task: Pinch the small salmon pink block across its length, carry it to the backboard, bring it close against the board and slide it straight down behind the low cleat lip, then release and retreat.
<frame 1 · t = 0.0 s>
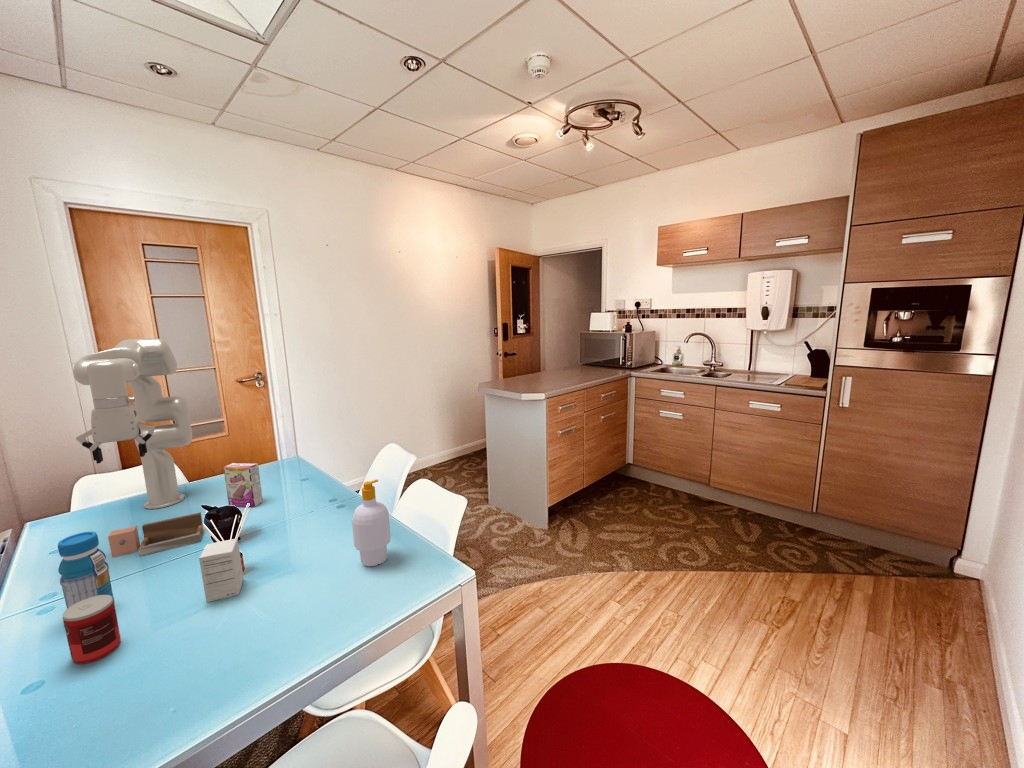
hand: (121, 458, 124), 31 cm above the table, fingers open, 9 cm apart
beverage bottle: (92, 612, 104), on the table
canned food: (97, 651, 91), on the table
soap bottle: (374, 560, 123), on the table
salmon pink block: (126, 551, 131), on the table
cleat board: (173, 542, 136), on the table
candy bar box: (246, 505, 163), on the table
supplement box: (225, 591, 111), on the table
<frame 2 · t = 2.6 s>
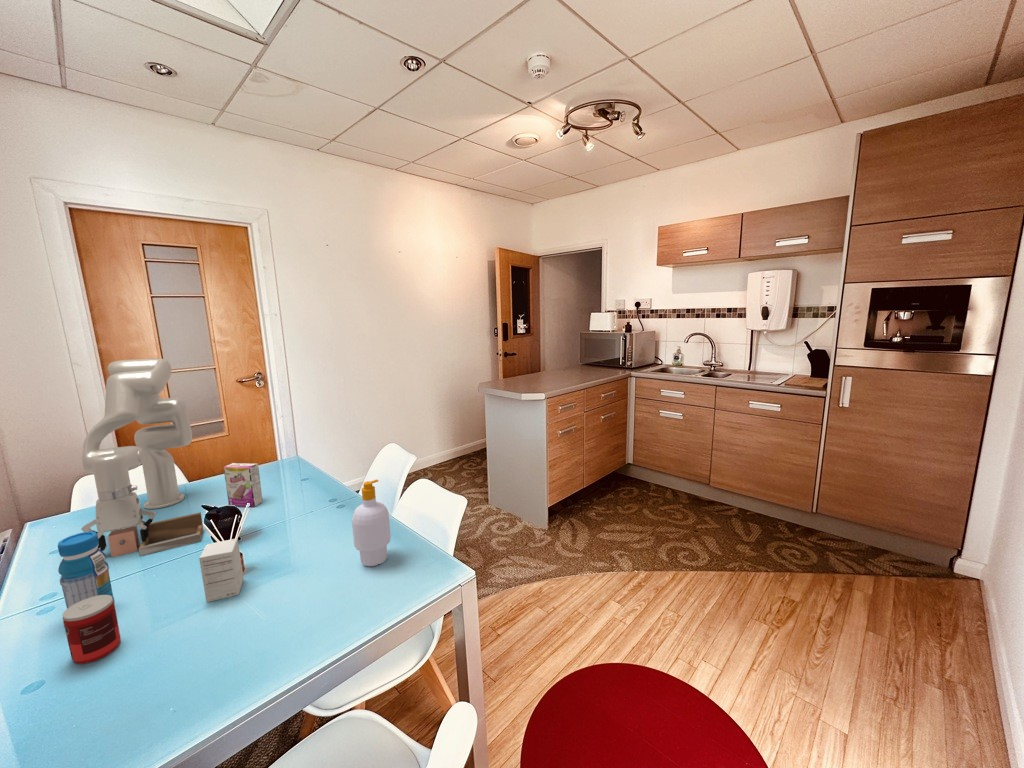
hand: (124, 544, 131), 3 cm above the table, fingers open, 9 cm apart
nothing on the table moved.
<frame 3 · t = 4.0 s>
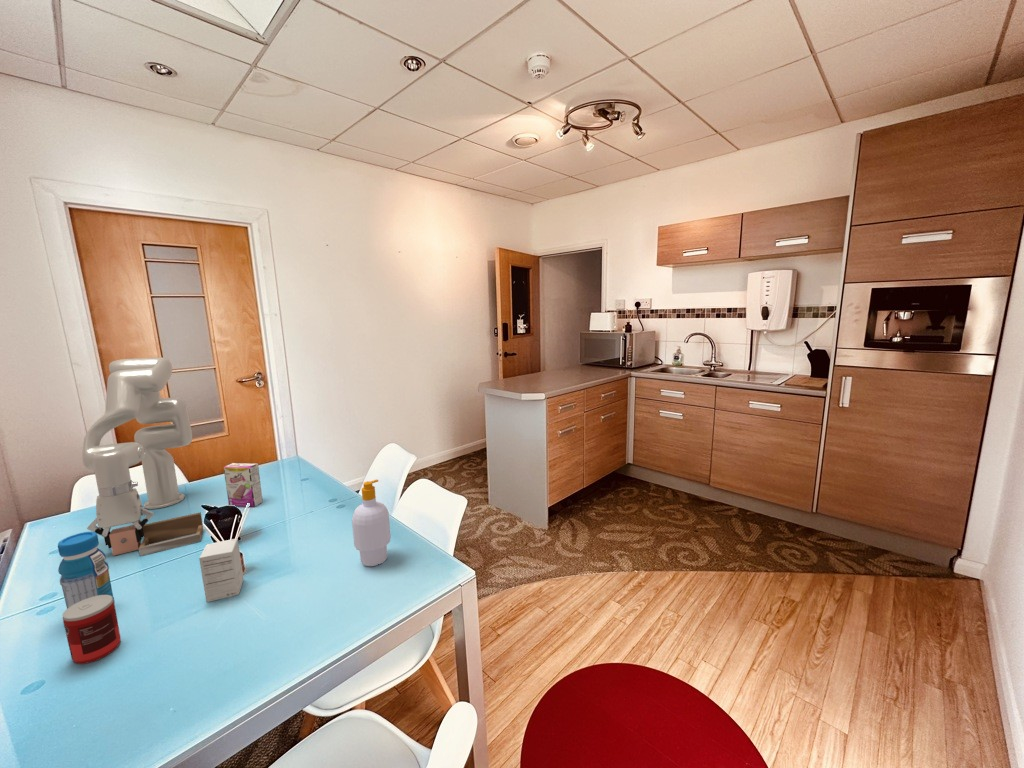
hand: (125, 542, 131), 3 cm above the table, fingers closed on salmon pink block, 6 cm apart
salmon pink block: (127, 549, 132), on the table, touching gripper
everything else where it was.
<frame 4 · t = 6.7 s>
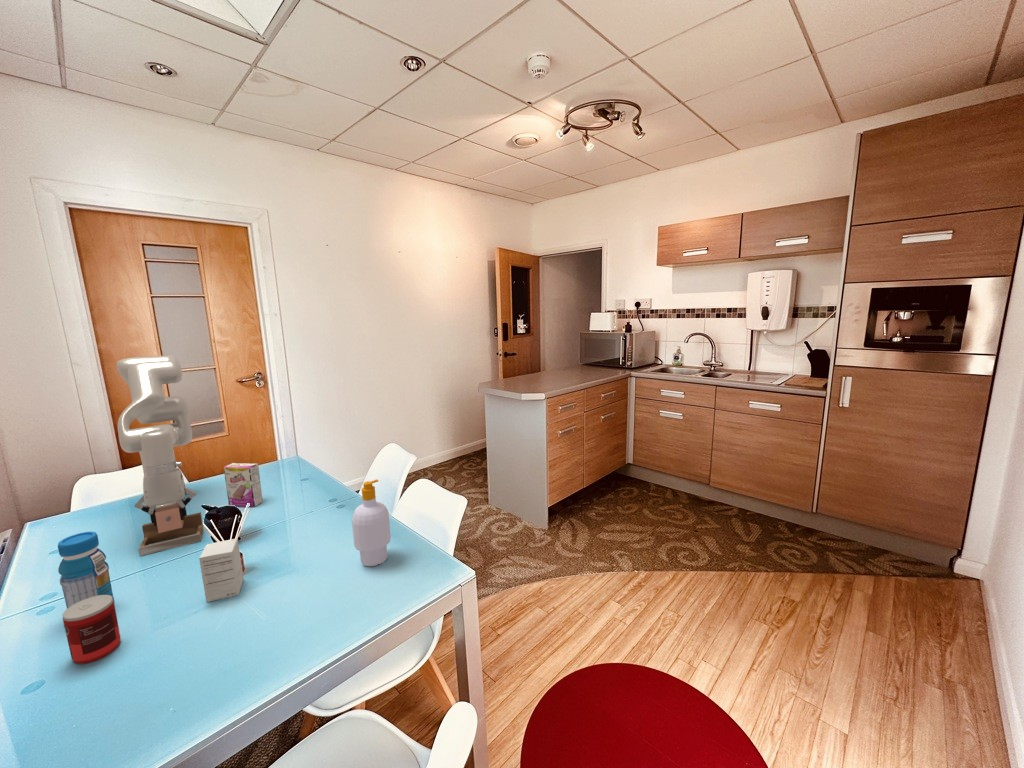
hand: (169, 520, 135), 8 cm above the table, fingers closed on salmon pink block, 6 cm apart
salmon pink block: (171, 527, 135), point 5 cm above the table, touching gripper
everything else where it was.
when the fingers open (3 cm above the table, at t = 9.1 s): salmon pink block stays where it is, resting in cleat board.
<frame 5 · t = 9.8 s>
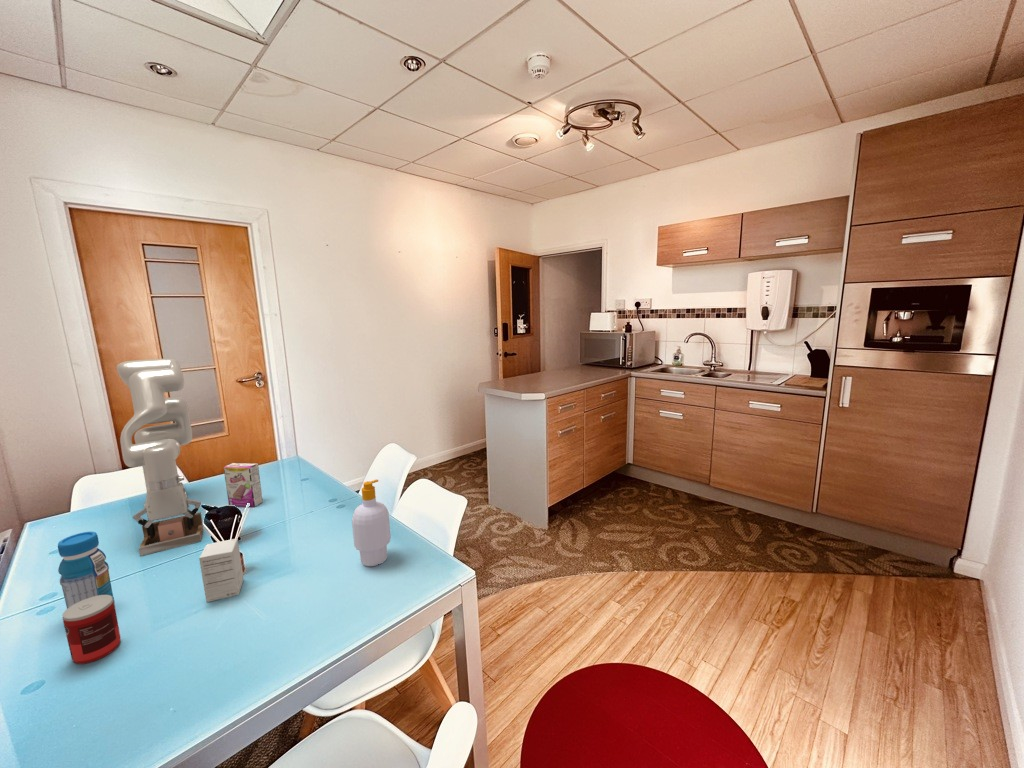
hand: (172, 532, 136), 3 cm above the table, fingers open, 9 cm apart
salmon pink block: (173, 541, 137), resting in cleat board
everything else where it was.
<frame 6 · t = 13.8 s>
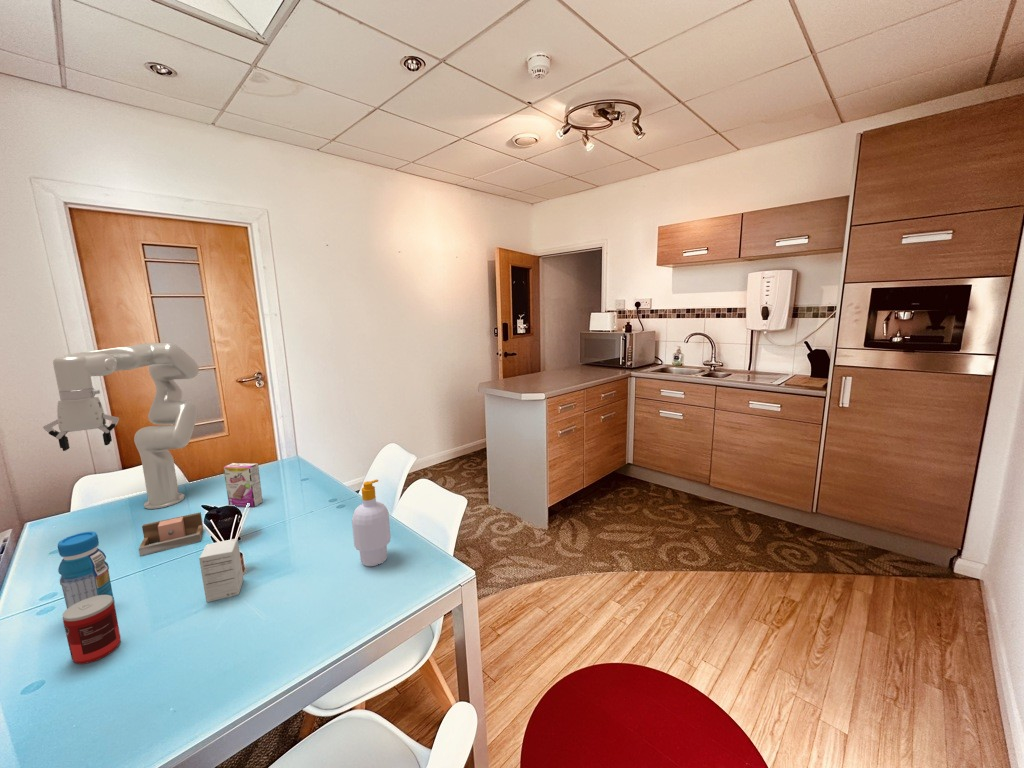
hand: (87, 447, 134), 32 cm above the table, fingers open, 9 cm apart
nothing on the table moved.
at the end: salmon pink block 0.8 cm off-centre on the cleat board, point 0.0 cm above the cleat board's base; salmon pink block tilted 0°; the gripper is holding nothing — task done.
